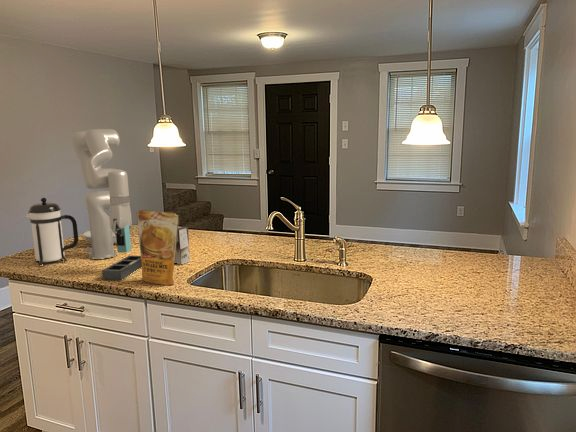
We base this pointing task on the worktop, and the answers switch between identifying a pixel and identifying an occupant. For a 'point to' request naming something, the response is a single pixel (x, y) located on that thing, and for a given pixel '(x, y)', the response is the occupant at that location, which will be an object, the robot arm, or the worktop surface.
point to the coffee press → (49, 232)
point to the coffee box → (182, 246)
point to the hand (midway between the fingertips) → (123, 243)
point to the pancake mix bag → (157, 245)
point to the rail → (122, 268)
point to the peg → (127, 241)
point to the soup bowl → (88, 236)
